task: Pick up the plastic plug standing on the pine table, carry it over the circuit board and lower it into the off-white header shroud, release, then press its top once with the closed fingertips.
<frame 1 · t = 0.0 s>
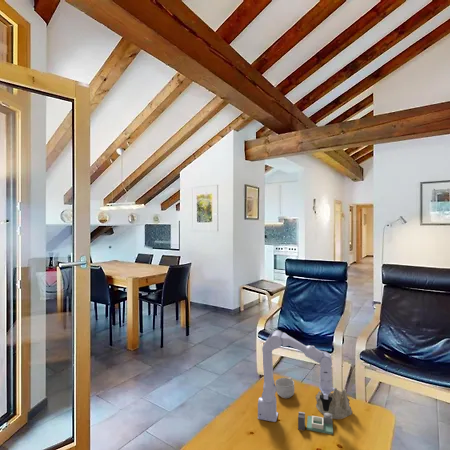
hand: (326, 406, 153), 10 cm above the table, fingers open, 7 cm apart
plug: (301, 427, 153), on the table
teacup: (286, 394, 182), on the table
grey jagged lump: (333, 410, 167), on the table
board: (319, 425, 154), on the table
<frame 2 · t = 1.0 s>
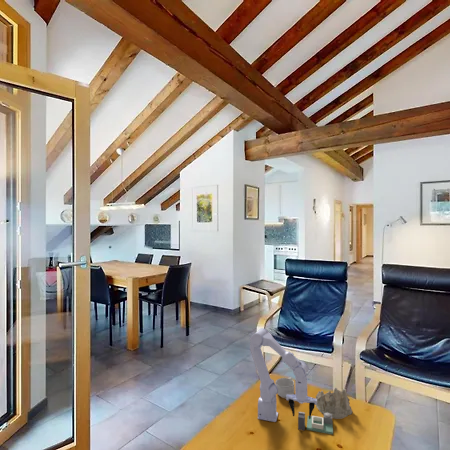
hand: (301, 416, 153), 5 cm above the table, fingers open, 7 cm apart
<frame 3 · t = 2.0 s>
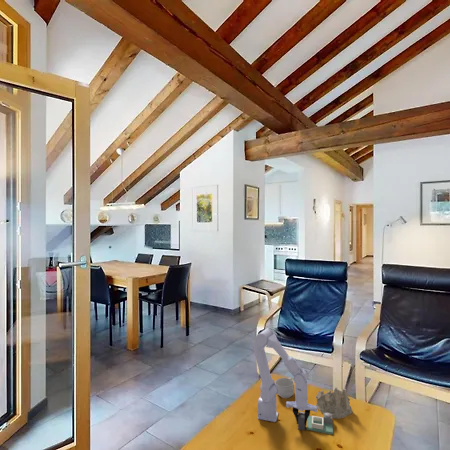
hand: (301, 423, 153), 2 cm above the table, fingers closed on plug, 3 cm apart
plug: (301, 427, 153), on the table, touching gripper
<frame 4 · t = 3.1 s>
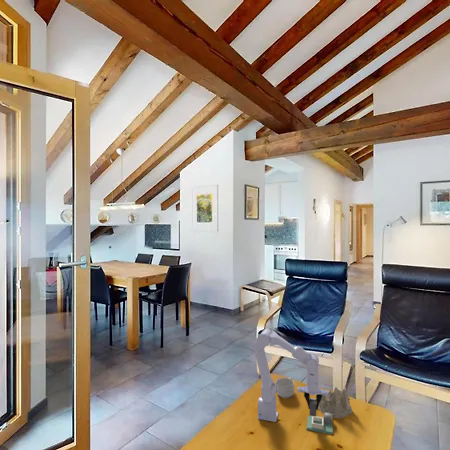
hand: (313, 408, 153), 9 cm above the table, fingers closed on plug, 3 cm apart
plug: (313, 413, 153), point 7 cm above the table, touching gripper
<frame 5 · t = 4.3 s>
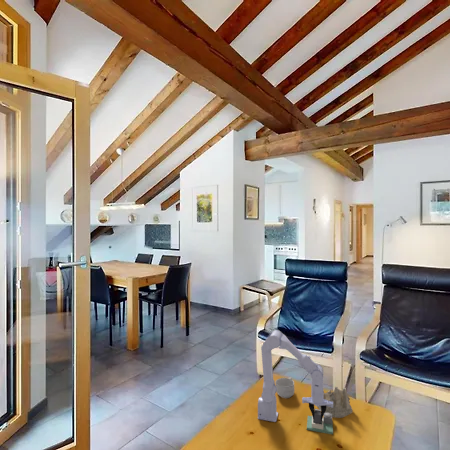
hand: (317, 419, 153), 4 cm above the table, fingers closed on plug, 3 cm apart
plug: (317, 424, 153), point 1 cm above the table, touching board, gripper
when the fingers open (4 cm above the table, at t = 4.4 s): plug stays where it is, resting on board.
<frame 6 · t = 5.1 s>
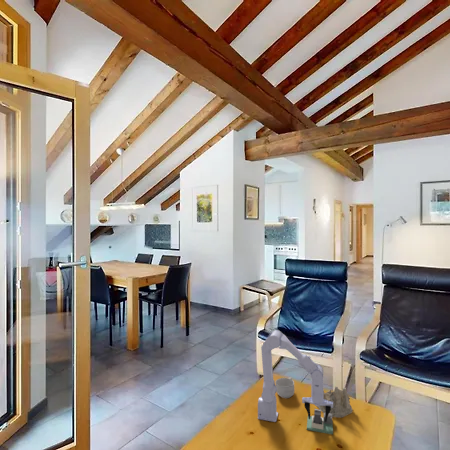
hand: (317, 419, 153), 4 cm above the table, fingers open, 7 cm apart
plug: (317, 424, 153), point 1 cm above the table, touching board
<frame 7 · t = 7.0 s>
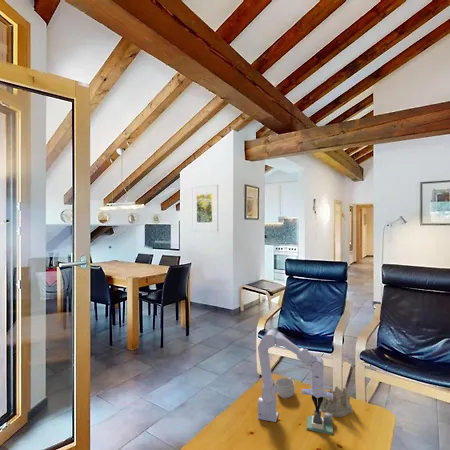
hand: (317, 410, 153), 8 cm above the table, fingers closed
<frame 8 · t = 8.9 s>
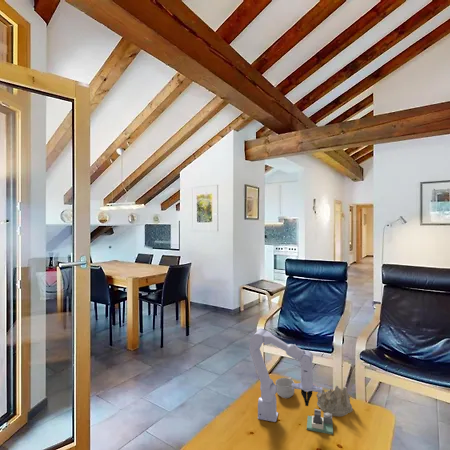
hand: (306, 404, 154), 10 cm above the table, fingers closed
at the end: plug 0.2 cm from the target spot on the board, point 1.0 cm above the board's base; plug tilted 0°; the gripper is holding nothing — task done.
